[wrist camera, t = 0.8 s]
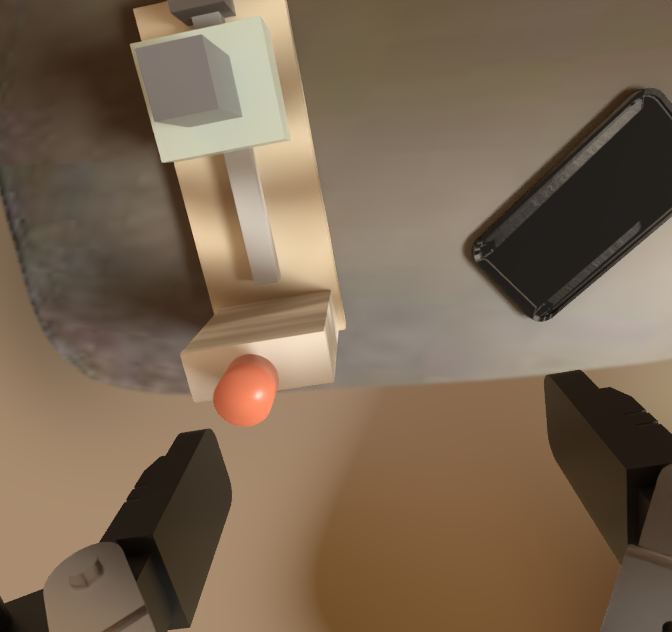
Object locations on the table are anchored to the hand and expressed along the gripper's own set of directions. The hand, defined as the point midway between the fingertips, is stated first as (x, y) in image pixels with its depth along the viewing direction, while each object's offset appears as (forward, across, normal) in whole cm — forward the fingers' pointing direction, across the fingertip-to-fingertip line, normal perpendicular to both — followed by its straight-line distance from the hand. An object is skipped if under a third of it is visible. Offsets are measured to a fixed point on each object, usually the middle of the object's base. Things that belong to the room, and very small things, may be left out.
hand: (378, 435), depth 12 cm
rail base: (+25, +7, -5) cm, 26 cm away
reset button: (+13, +7, +4) cm, 15 cm away
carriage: (+21, +6, -10) cm, 25 cm away
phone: (+25, -15, +1) cm, 29 cm away
